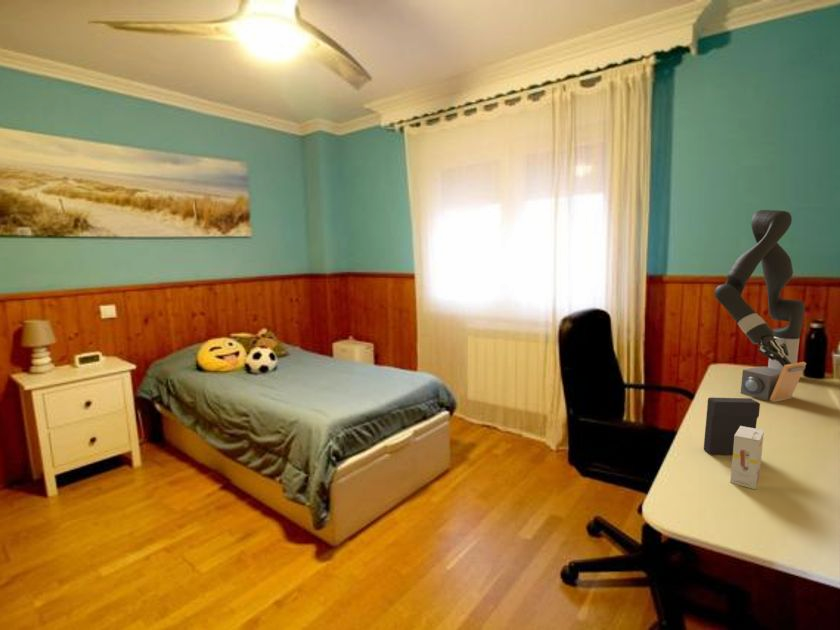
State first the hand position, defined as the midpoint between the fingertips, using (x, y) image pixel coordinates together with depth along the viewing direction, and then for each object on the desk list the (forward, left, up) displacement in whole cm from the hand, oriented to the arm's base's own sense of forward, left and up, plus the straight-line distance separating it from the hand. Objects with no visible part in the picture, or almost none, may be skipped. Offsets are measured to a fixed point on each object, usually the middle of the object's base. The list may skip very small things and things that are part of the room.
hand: (790, 368), depth 151 cm
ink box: (+72, -10, -13) cm, 74 cm away
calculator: (+58, -14, -13) cm, 61 cm away
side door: (-1, -1, -12) cm, 12 cm away
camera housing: (-3, -7, -13) cm, 15 cm away
